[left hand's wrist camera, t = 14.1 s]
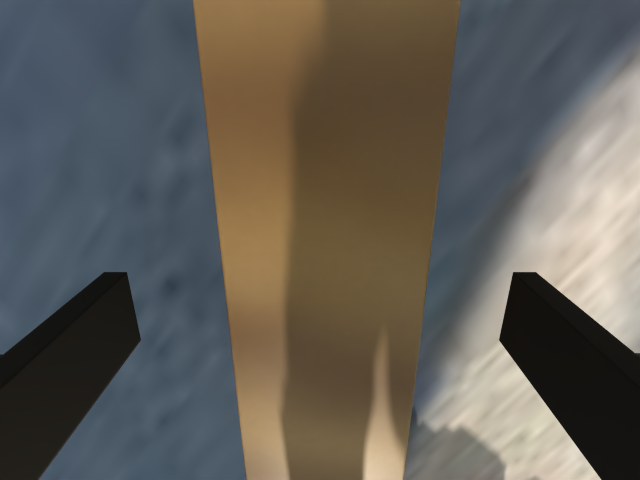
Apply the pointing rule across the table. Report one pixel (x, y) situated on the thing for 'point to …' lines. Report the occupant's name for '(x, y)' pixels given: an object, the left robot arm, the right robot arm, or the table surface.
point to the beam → (325, 219)
